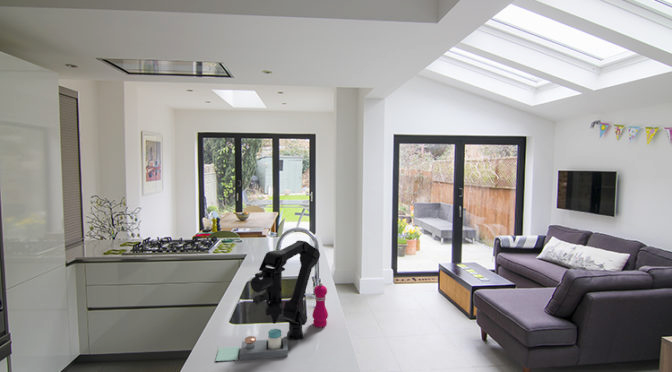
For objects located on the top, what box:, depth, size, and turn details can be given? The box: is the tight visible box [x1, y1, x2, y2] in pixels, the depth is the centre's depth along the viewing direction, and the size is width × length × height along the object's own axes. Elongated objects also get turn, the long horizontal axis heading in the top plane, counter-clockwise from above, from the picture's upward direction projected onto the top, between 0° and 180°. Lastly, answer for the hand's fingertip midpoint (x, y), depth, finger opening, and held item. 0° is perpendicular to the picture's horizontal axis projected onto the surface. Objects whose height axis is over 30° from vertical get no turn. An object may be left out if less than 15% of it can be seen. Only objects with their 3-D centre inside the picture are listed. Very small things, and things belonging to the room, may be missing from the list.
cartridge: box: [267, 328, 282, 350], centre depth 140 cm, size 5×5×8 cm
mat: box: [214, 346, 241, 363], centre depth 137 cm, size 9×8×1 cm
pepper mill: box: [312, 282, 329, 328], centre depth 163 cm, size 7×7×20 cm
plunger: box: [244, 335, 257, 349], centre depth 139 cm, size 4×4×6 cm
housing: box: [239, 337, 289, 361], centre depth 140 cm, size 9×18×2 cm, turn 100°
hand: (274, 322), depth 140 cm, fingers closed
